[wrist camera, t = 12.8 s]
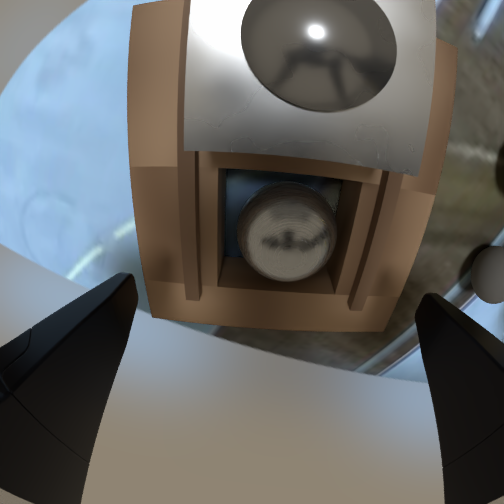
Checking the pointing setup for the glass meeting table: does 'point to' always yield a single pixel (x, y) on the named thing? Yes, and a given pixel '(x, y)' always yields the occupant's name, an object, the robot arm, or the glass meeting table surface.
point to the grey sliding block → (312, 79)
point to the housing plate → (215, 163)
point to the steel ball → (286, 231)
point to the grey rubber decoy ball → (489, 275)
